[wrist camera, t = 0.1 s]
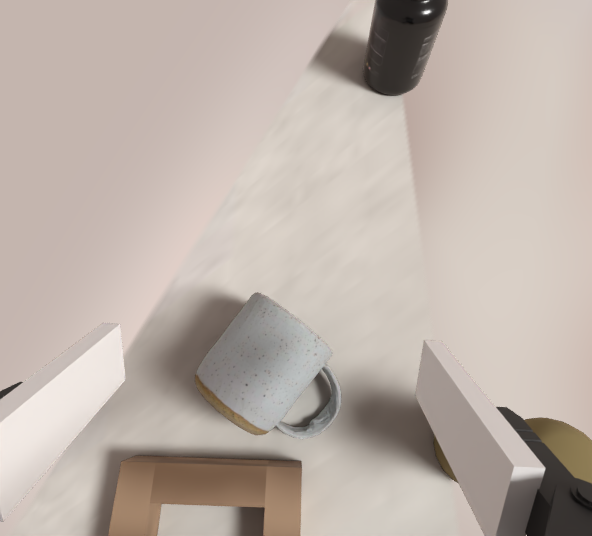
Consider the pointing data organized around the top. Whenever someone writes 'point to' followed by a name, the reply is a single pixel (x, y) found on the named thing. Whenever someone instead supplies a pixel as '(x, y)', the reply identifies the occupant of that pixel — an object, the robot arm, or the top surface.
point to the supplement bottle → (401, 43)
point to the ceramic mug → (266, 370)
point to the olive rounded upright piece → (551, 447)
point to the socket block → (206, 491)
